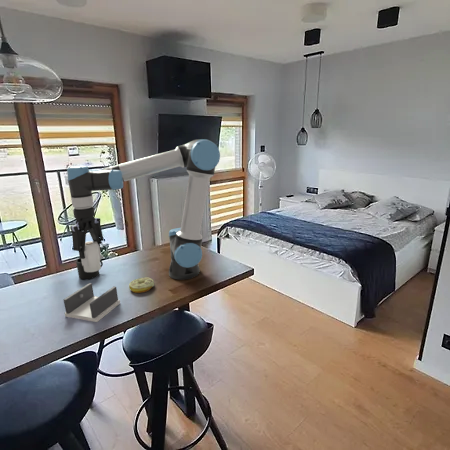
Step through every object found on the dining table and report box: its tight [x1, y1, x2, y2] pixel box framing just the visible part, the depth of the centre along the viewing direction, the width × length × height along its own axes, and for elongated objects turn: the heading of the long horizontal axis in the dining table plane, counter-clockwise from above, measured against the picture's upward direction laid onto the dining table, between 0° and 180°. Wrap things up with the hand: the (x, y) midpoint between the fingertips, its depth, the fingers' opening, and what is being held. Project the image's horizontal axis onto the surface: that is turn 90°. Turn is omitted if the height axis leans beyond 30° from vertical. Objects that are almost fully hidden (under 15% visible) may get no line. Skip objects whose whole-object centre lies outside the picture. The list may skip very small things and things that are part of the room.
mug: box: [75, 257, 103, 281], centre depth 157 cm, size 9×12×9 cm
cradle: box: [62, 282, 121, 323], centre depth 125 cm, size 15×14×8 cm
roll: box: [84, 240, 102, 272], centre depth 128 cm, size 6×6×11 cm
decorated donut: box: [128, 276, 155, 294], centre depth 142 cm, size 10×11×4 cm
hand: (92, 262), depth 128 cm, fingers closed on roll, 6 cm apart
